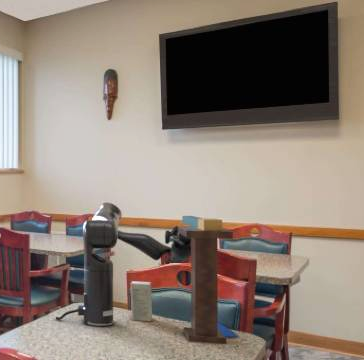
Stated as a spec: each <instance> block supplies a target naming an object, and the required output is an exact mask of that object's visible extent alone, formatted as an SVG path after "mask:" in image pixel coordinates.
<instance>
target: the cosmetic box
mask: <svg viewBox="0 0 364 360" xmlns="http://www.w3.org/2000/svg"><path fill="white" fill-rule="evenodd" d="M152 299H153V298H152V282H151V281H136V280H133V281H131V282H130V304H131V306H130V307H131V310H130V311H131V320H132V321H142V322H152V320H153V302H152V301H153V300H152Z"/></svg>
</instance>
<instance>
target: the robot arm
mask: <svg viewBox="0 0 364 360" xmlns="http://www.w3.org/2000/svg"><path fill="white" fill-rule="evenodd" d="M122 216H123V213H122V211H121V209H120V208H119V207H118V205H116V204H113V203H112V202H103V203H102V204H101V205H100V206H99V207H98V209H97V211H96V212H95V214H94V215H93V217H92V218H91V219H87V220H85V221H84V222H83V226H82V239H83V240H82V241H83V305H78V306H77V308H76V309H73V310H68V311H66V312H64V313H63V314H62V315H61V316H55V320H57V321H61V320H62V319H64V318H65V317H66V316H67V315H70V314H76V313H77V315H78V316H80V317H81V316H82V317H83V325H89V326H94V327H108V326H109V327H110V326H112V325H113V324H114V263H113V261H112V260H111V259H109V258H106V257H103V256H102V255H99V254H98V253H97V252H96V251H95V249H97V250H100V249H101V250H110V249H113V248H115V246H116V245H117V243H118V240H119V241H121V242H123V243H125V244H127V245H130V246H131V247H133V248H135V249H136V250H138V251H140V252H141V253H143V254H144V255H146V256H147V257H149V258H150V259H152V260H154V261H159V260H160V259H161V258H162V257H163V256H168V257H167V259H166V260H165V262H164V263H163V266H164V265H165V264H169V263H188V264H189V263H190V260H191V238H186V237H185V236H183V235H181V234H180V233H178V226H179V225H175V226H173V227H172V230H171V231H170V230H165V233H164V242H165V243H164V244H163V243H162V242H160V241H159V240H157V239H155V238H154V237H152V236H151V235H148V234H146V233H142V232H141V233H140V232H139V233H138V232H127V231H126V232H125V231H122V230H119V223H120V220H121V218H122ZM170 243H171V245H170V246H168V244H170Z"/></svg>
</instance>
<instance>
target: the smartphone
mask: <svg viewBox="0 0 364 360" xmlns="http://www.w3.org/2000/svg"><path fill="white" fill-rule="evenodd" d="M218 329H219V330H220V331H221V332H222V334H223V335H224V336H225V337H226V339H228V338H229V339H230V338H231V339H236V338H238V335H237V334H236V333H234V332H233V331H232V330H230V329H229V328H228V327H226V326H225V325H224V324H222V323H221V322H220V321H218Z"/></svg>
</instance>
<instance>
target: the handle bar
mask: <svg viewBox="0 0 364 360" xmlns="http://www.w3.org/2000/svg"><path fill="white" fill-rule="evenodd" d="M181 218H182V221H181V223H182V224H183V225H185V226H193V227H197V228H198V229H201V230H206V231H222V228H223V220H222V219H219V218H203V217H198V216H193V215H182V217H181Z"/></svg>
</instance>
